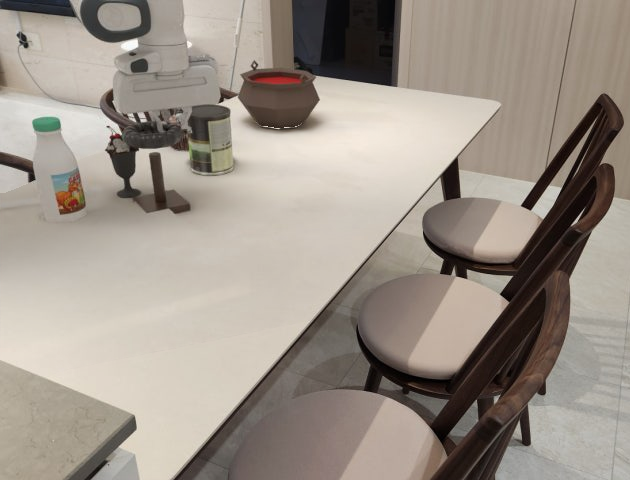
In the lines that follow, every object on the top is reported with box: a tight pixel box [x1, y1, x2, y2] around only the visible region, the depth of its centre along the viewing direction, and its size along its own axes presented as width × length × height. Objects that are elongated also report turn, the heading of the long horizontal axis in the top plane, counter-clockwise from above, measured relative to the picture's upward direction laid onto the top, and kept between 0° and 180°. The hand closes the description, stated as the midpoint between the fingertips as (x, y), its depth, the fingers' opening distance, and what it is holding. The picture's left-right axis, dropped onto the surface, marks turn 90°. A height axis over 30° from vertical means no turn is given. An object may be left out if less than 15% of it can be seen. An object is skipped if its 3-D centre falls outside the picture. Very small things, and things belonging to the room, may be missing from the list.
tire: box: [121, 120, 183, 150], centre depth 125 cm, size 11×11×3 cm
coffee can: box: [187, 104, 235, 176], centre depth 150 cm, size 10×10×14 cm
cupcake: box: [167, 107, 189, 151], centre depth 164 cm, size 10×10×10 cm
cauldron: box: [237, 59, 321, 128], centre depth 185 cm, size 24×24×16 cm
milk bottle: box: [31, 116, 88, 223], centre depth 120 cm, size 8×8×20 cm
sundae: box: [104, 125, 142, 199], centre depth 134 cm, size 7×7×15 cm
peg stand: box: [131, 151, 191, 214], centre depth 129 cm, size 9×9×12 cm
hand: (172, 130), depth 127 cm, fingers closed on tire, 3 cm apart
